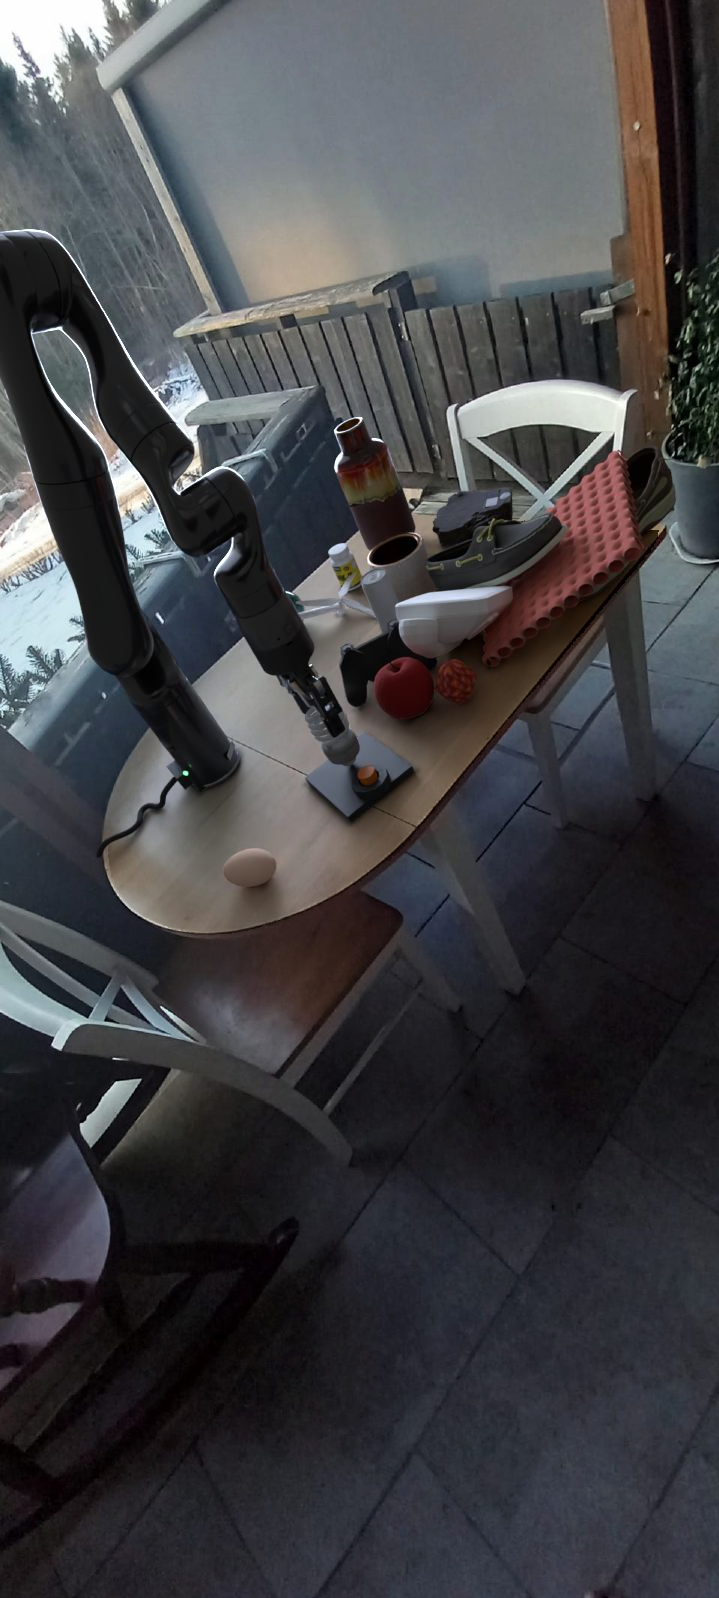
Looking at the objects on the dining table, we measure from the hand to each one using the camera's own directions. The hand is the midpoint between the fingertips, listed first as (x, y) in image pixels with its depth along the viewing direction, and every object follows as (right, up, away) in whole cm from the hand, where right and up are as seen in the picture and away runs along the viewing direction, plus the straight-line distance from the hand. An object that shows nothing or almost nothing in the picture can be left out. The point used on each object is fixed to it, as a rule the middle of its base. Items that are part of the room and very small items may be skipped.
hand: (323, 721), depth 106 cm
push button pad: (+5, -8, +6) cm, 11 cm away
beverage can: (+12, +19, +29) cm, 36 cm away
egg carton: (+36, +26, +11) cm, 46 cm away
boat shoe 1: (+29, +26, +17) cm, 42 cm away
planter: (+15, +28, +36) cm, 48 cm away
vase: (+13, +41, +50) cm, 66 cm away
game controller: (+10, +9, +20) cm, 24 cm away
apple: (+14, +3, +12) cm, 18 cm away
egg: (-6, -20, -4) cm, 21 cm away
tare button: (+7, -8, +1) cm, 10 cm away
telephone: (+20, +21, +11) cm, 31 cm away
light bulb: (+4, -6, +7) cm, 10 cm away
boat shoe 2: (+48, +31, +20) cm, 61 cm away
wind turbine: (-13, +22, +35) cm, 43 cm away
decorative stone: (+21, +4, +9) cm, 23 cm away
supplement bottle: (+4, +33, +47) cm, 57 cm away
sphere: (-8, +23, +44) cm, 50 cm away
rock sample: (+28, +44, +44) cm, 68 cm away
